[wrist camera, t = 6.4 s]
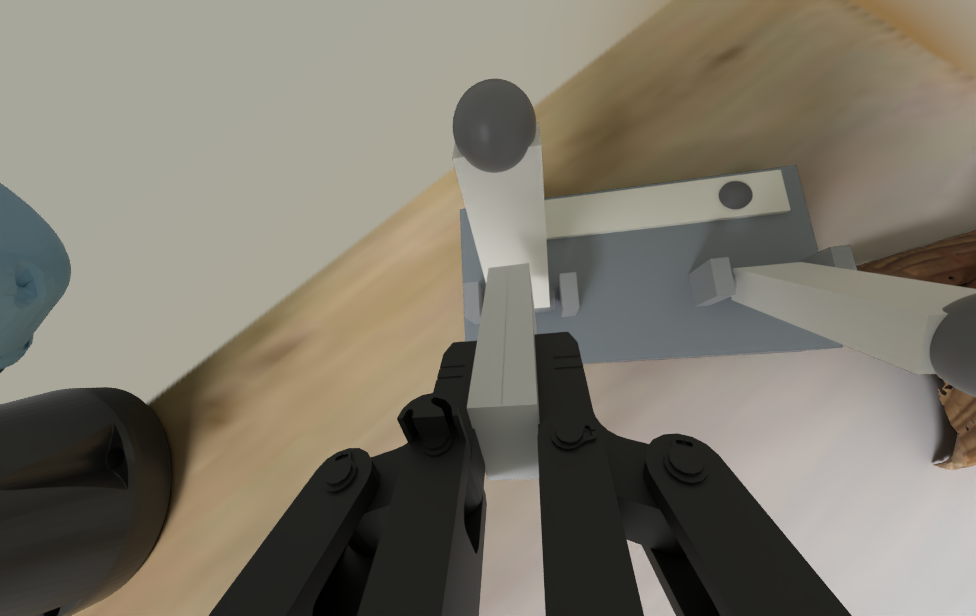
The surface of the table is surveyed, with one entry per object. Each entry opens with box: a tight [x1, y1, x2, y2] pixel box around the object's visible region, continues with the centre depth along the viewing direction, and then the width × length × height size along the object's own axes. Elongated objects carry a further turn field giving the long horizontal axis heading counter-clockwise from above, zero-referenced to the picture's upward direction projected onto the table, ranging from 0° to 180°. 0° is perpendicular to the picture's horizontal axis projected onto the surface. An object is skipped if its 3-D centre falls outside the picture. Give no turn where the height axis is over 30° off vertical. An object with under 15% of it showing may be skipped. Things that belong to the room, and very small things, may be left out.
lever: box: [731, 262, 976, 397], centre depth 12 cm, size 3×4×12 cm
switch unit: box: [460, 165, 857, 364], centre depth 20 cm, size 10×19×6 cm, turn 94°
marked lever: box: [452, 79, 556, 313], centre depth 15 cm, size 3×4×12 cm
